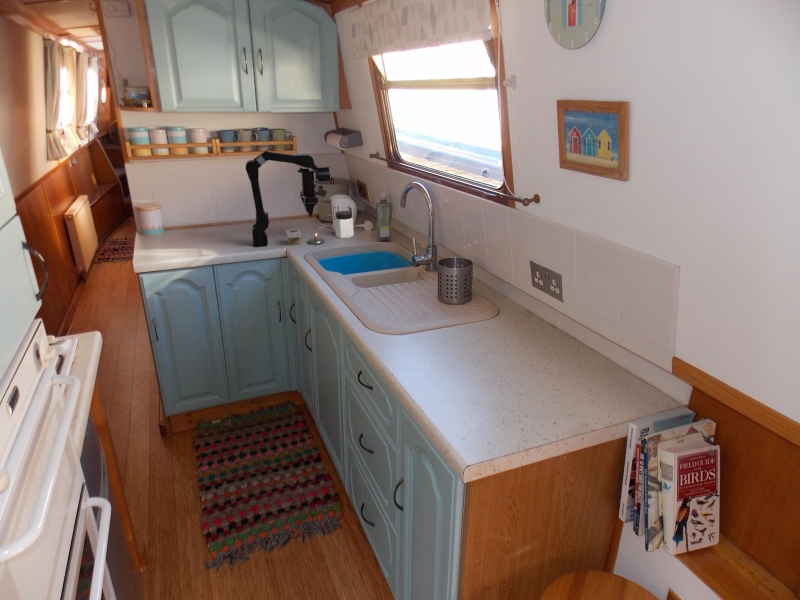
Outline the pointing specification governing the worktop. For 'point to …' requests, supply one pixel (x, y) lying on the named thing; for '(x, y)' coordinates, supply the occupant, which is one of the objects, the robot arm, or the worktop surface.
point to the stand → (294, 241)
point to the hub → (316, 240)
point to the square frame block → (293, 233)
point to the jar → (344, 224)
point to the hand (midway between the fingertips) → (309, 214)
